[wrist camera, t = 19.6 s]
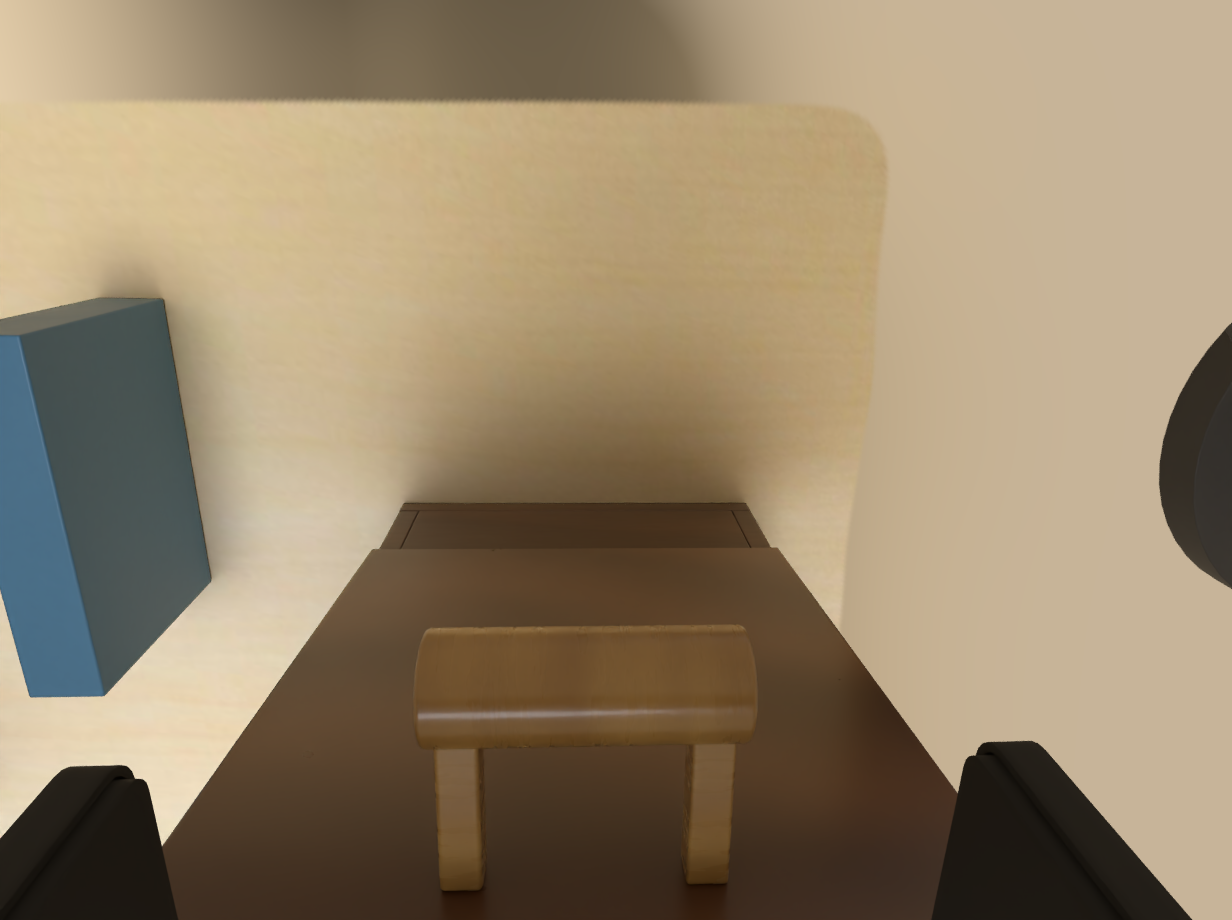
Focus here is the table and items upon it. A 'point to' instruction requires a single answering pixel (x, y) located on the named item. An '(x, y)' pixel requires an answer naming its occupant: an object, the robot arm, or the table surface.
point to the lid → (570, 753)
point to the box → (574, 526)
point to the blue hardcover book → (93, 492)
